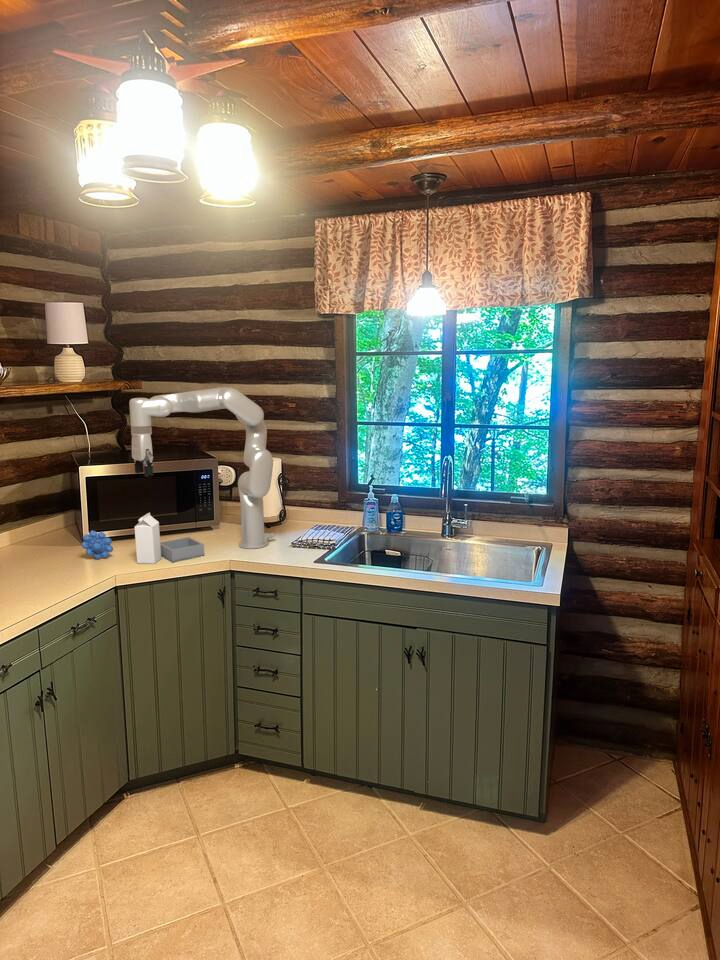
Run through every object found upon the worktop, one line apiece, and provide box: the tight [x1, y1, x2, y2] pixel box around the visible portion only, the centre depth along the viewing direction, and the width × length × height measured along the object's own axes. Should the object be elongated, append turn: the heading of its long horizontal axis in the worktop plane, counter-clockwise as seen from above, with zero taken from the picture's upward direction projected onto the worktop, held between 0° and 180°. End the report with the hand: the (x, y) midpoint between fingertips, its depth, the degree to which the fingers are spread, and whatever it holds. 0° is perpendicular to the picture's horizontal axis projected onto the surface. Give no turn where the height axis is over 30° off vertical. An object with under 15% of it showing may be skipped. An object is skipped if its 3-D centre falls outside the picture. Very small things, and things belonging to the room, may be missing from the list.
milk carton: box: [134, 512, 162, 565], centre depth 271 cm, size 7×7×19 cm
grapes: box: [81, 530, 114, 560], centre depth 274 cm, size 12×7×12 cm, turn 108°
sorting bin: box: [160, 536, 205, 563], centre depth 280 cm, size 14×14×5 cm
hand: (144, 474), depth 267 cm, fingers open, 9 cm apart
